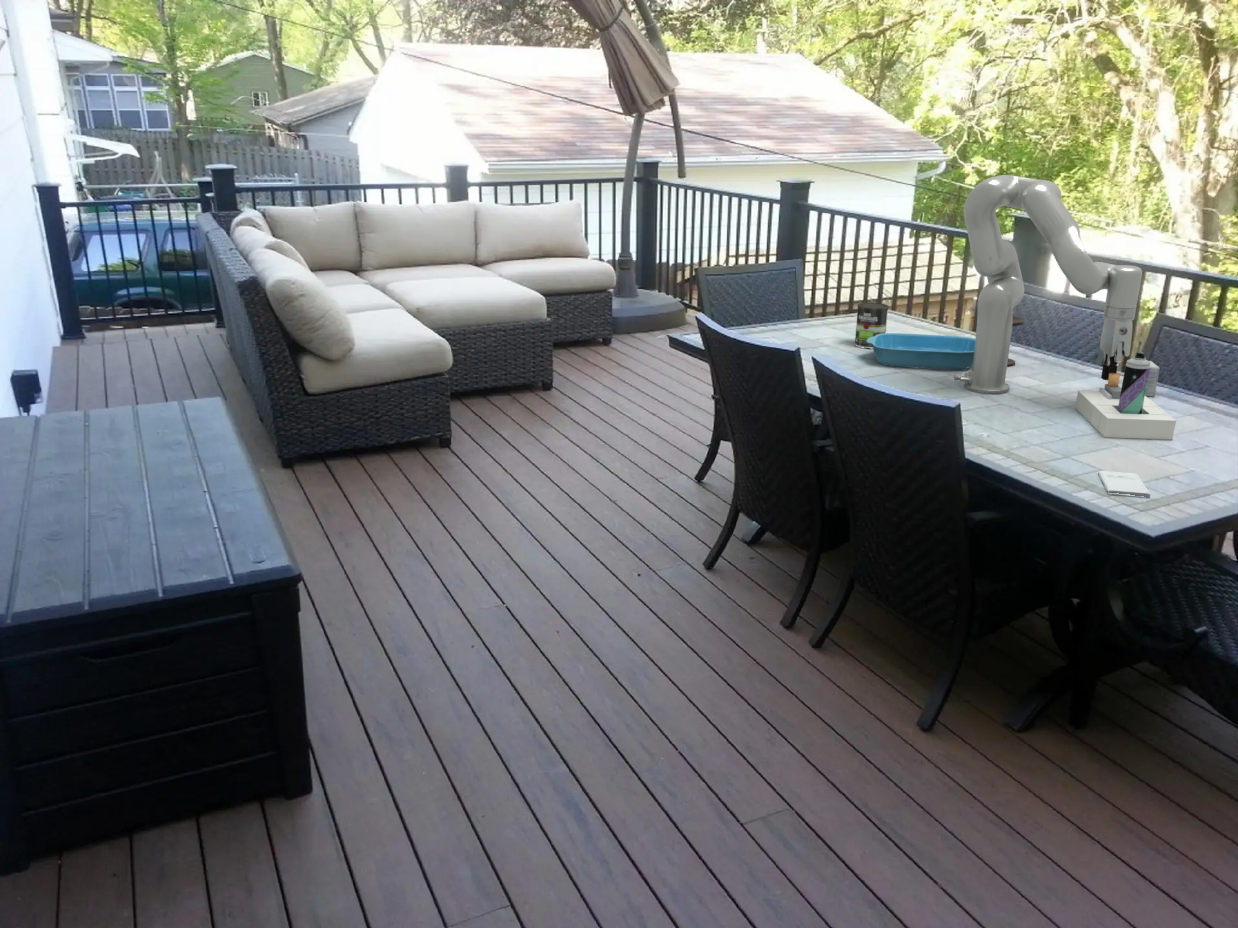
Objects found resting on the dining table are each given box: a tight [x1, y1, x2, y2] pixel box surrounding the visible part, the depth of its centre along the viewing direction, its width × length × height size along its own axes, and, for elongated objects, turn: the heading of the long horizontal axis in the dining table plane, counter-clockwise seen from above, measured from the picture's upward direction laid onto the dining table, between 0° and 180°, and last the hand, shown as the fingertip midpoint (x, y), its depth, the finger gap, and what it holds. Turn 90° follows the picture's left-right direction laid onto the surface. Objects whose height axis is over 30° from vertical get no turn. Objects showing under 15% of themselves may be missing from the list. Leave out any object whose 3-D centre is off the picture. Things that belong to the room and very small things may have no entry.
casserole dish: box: [867, 332, 976, 371], centre depth 311 cm, size 37×22×7 cm, turn 72°
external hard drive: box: [1097, 470, 1151, 499], centre depth 211 cm, size 2×8×12 cm
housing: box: [1074, 387, 1177, 441], centre depth 251 cm, size 16×25×6 cm, turn 171°
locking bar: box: [1103, 372, 1122, 399], centre depth 257 cm, size 3×7×5 cm, turn 172°
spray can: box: [1118, 351, 1150, 414], centre depth 244 cm, size 6×6×20 cm
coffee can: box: [854, 302, 890, 350], centre depth 331 cm, size 10×10×14 cm
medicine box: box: [1145, 360, 1160, 398], centre depth 276 cm, size 8×4×9 cm, turn 169°
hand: (1108, 379), depth 263 cm, fingers closed
